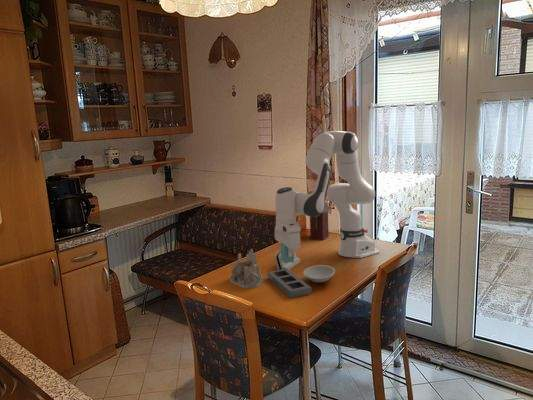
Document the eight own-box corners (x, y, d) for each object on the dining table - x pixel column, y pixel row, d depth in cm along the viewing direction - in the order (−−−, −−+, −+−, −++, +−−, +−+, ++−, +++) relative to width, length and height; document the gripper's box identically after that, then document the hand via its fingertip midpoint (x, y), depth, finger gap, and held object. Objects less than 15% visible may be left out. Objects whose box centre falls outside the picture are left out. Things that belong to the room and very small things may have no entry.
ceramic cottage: (232, 275, 205) (231, 246, 201) (265, 276, 203) (264, 247, 199) (225, 289, 190) (223, 259, 186) (260, 291, 188) (259, 260, 184)
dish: (309, 273, 202) (308, 263, 201) (338, 276, 197) (338, 266, 196) (299, 287, 186) (298, 277, 185) (330, 290, 181) (330, 279, 180)
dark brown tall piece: (308, 239, 259) (307, 195, 253) (315, 235, 268) (314, 192, 263) (322, 241, 254) (321, 196, 249) (328, 236, 264) (327, 193, 259)
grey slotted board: (287, 274, 202) (286, 268, 202) (311, 293, 178) (311, 287, 178) (268, 278, 199) (267, 272, 198) (290, 298, 175) (290, 291, 174)
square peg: (281, 260, 188) (280, 243, 186) (289, 258, 189) (289, 241, 188) (285, 263, 184) (284, 245, 182) (294, 261, 185) (293, 244, 184)
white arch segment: (286, 271, 206) (279, 252, 206) (278, 273, 209) (272, 254, 209) (300, 261, 221) (294, 243, 220) (293, 262, 223) (286, 245, 223)
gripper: (270, 220, 192) (272, 249, 194) (288, 230, 173) (290, 262, 175) (283, 219, 194) (284, 247, 196) (302, 228, 175) (303, 259, 178)
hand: (287, 254), depth 186 cm, fingers closed on square peg, 4 cm apart
